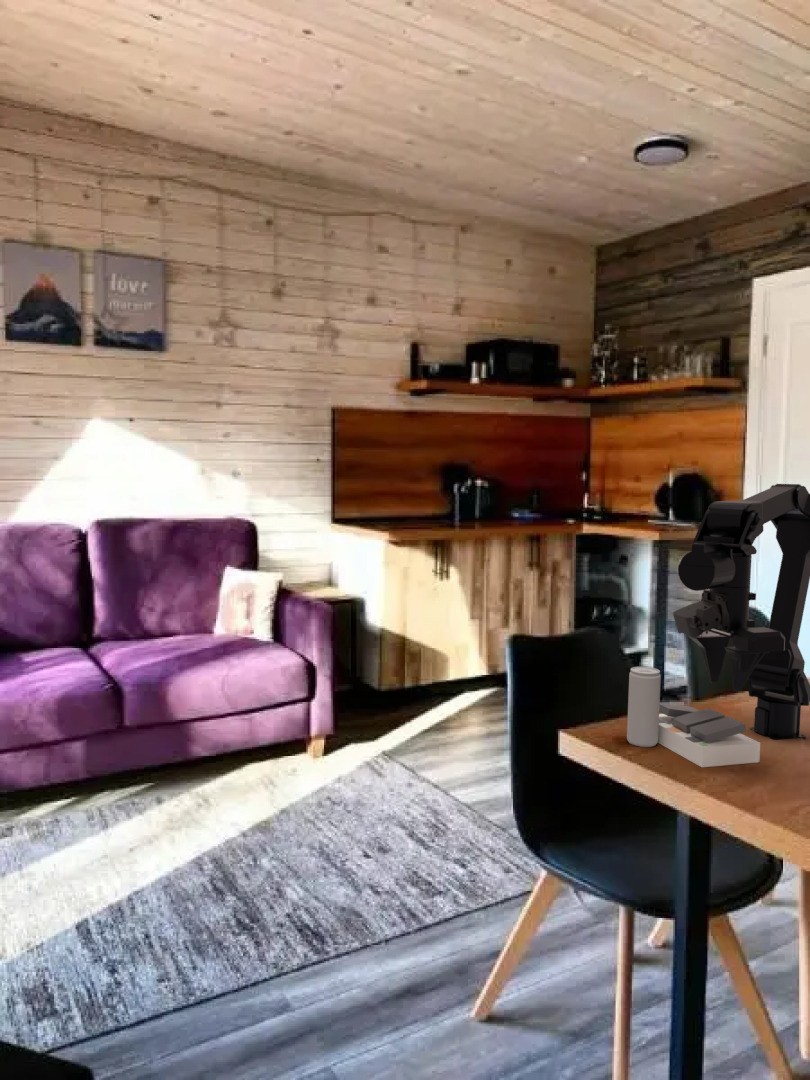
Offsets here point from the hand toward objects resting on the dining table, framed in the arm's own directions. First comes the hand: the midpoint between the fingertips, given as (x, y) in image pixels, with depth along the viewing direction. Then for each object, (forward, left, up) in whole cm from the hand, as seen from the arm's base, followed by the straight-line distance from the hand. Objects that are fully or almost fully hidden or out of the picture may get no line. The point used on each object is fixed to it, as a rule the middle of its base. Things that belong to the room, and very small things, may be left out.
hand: (725, 686), depth 131 cm
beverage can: (+9, -8, -11) cm, 16 cm away
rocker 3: (+1, 0, -7) cm, 7 cm away
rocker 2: (+1, -5, -7) cm, 8 cm away
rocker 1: (+1, -10, -7) cm, 12 cm away
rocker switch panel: (+1, -5, -11) cm, 12 cm away
